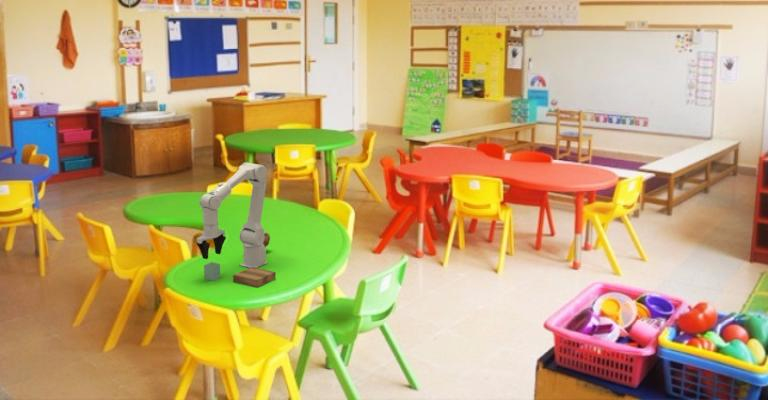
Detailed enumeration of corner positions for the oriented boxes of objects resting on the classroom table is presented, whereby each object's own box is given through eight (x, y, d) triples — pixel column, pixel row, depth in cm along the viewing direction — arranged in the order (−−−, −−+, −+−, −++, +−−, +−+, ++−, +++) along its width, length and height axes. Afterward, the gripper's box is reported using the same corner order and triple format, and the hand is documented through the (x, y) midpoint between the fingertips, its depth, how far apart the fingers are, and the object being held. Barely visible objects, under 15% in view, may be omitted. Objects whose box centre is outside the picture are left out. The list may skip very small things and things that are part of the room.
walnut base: (252, 273, 328) (252, 266, 327) (275, 279, 322) (275, 272, 322) (233, 282, 318) (233, 274, 317) (256, 287, 312) (256, 280, 311)
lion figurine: (265, 249, 361) (265, 230, 358) (273, 252, 357) (272, 233, 355) (239, 256, 350) (239, 237, 348) (247, 259, 347) (246, 239, 344)
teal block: (211, 275, 325) (211, 261, 323) (220, 277, 322) (220, 263, 321) (204, 278, 321) (204, 264, 319) (212, 280, 319) (212, 266, 317)
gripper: (215, 218, 324) (216, 249, 327) (190, 226, 312) (191, 259, 315) (228, 220, 321) (229, 252, 324) (204, 228, 309) (205, 262, 312)
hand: (211, 256), depth 319 cm, fingers open, 7 cm apart
